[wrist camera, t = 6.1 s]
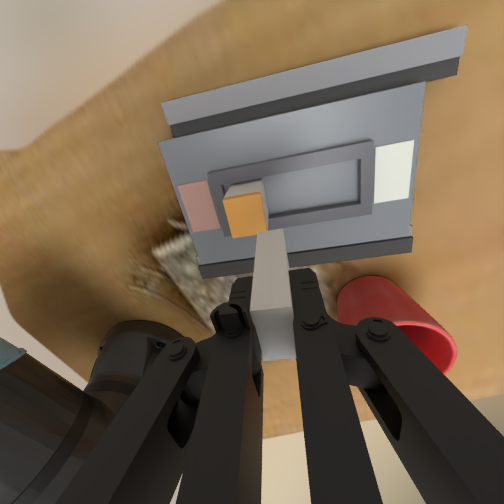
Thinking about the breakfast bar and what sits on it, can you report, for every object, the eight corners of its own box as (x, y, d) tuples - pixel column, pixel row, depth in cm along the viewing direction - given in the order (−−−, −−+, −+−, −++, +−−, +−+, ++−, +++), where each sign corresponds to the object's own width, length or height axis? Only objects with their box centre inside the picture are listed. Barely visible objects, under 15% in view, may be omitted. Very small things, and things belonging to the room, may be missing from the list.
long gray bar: (205, 270, 33) (202, 278, 31) (198, 250, 32) (195, 258, 30) (403, 244, 29) (411, 252, 27) (406, 220, 28) (414, 227, 26)
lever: (239, 217, 25) (232, 238, 21) (230, 184, 24) (222, 200, 20) (268, 212, 25) (267, 233, 21) (262, 178, 23) (259, 193, 19)
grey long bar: (179, 137, 25) (172, 139, 24) (168, 103, 24) (160, 103, 22) (446, 76, 21) (459, 74, 20) (452, 30, 20) (468, 24, 18)
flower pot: (308, 309, 35) (319, 373, 27) (361, 249, 30) (395, 306, 21) (370, 338, 37) (398, 406, 29) (429, 286, 32) (485, 351, 23)
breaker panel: (206, 250, 31) (198, 268, 28) (169, 138, 25) (152, 143, 22) (396, 222, 28) (413, 239, 24) (407, 84, 22) (433, 80, 18)
